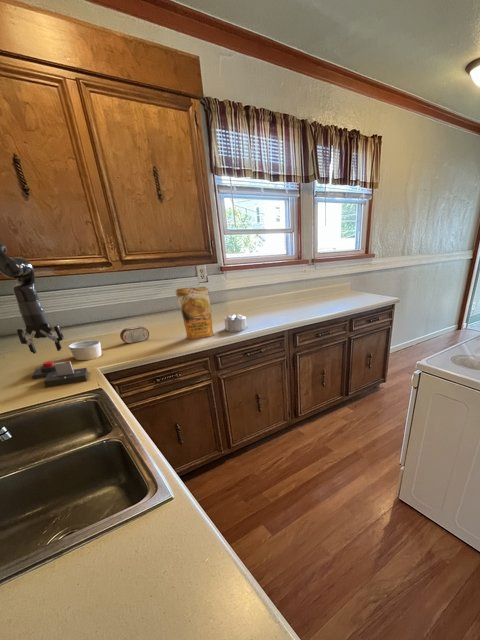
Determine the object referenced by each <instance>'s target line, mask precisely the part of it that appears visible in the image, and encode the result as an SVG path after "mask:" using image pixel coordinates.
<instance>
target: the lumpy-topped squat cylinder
mask: <svg viewBox="0 0 480 640" xmlns="http://www.w3.org/2000/svg"><path fill="white" fill-rule="evenodd" d="M246 318H247V317H246V316H244V315H242V314H236V315H235V314H233V313H232V314H231V315H227V316H226V317H224V327H225V330H226V331H227V332H229V333H232V332H233V333H234V332H241V331H245V330H246V329H247V319H246Z"/></svg>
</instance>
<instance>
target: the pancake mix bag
mask: <svg viewBox="0 0 480 640" xmlns="http://www.w3.org/2000/svg"><path fill="white" fill-rule="evenodd" d="M175 295H176V300H177V302H178V303H177V304H178V306H179V311H180V313H181V316H182V319H183V324H184V327H185V331H186V337H185V339H190V340H192V339H199V338H210V337H212V336H215V334H214V330H213V329H214V327H213V314H212V303H211V297H210V292H209V288H207V287H206V286H197V287H182V288H176V289H175Z"/></svg>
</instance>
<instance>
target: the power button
mask: <svg viewBox="0 0 480 640" xmlns="http://www.w3.org/2000/svg"><path fill="white" fill-rule="evenodd" d="M54 363H55V362H54V361H52V360H49V361H45V362H43V364H42V365H44V367H46V368H47V367H52V366H54Z"/></svg>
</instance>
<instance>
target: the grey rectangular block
mask: <svg viewBox="0 0 480 640" xmlns="http://www.w3.org/2000/svg"><path fill="white" fill-rule="evenodd" d="M53 363H54V366H55V369H56V372H57V375H58V376H62V375H68V374H74V368H73V365H72V362H71V360H66V361H60V362H53Z"/></svg>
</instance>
